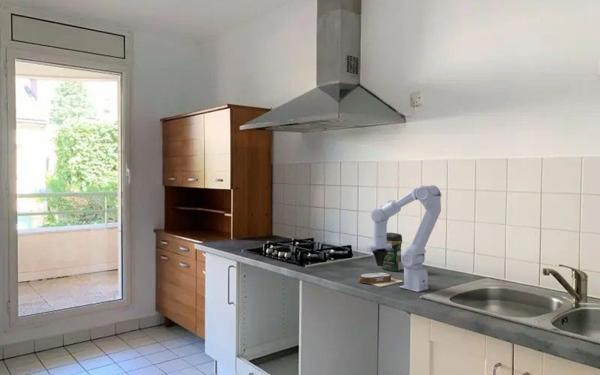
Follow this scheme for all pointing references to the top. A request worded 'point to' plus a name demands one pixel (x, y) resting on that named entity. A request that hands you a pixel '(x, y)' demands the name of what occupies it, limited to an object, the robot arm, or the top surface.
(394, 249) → the coffee jar
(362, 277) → the orange-brown flat oval
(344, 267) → the top surface
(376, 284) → the birch board
